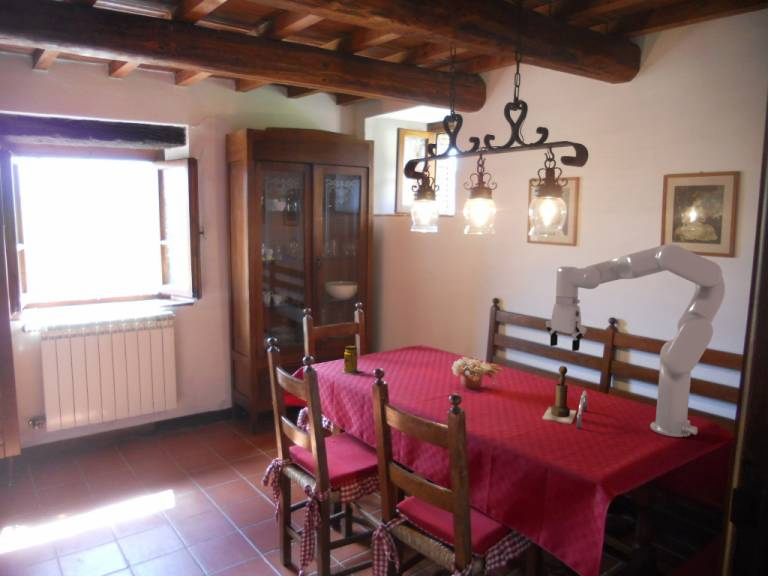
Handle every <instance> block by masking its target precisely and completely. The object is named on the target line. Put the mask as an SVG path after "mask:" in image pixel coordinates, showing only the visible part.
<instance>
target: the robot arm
mask: <svg viewBox="0 0 768 576" xmlns="http://www.w3.org/2000/svg"><path fill="white" fill-rule="evenodd" d="M665 271H666V272H669V273H672V274H673V275H676V276H678V277H681V278H682V279H685V280H687V281H689V282H691V283H693V284H694V285H695V290H694V294H693V296H692V298H691V300H690V302H689V303H688V305H687V306H686V308H685V311H684V312H683V314H682V315H681V317H680V318H679V320H678V322H677V327H676V328H677V332H676V334H675V337H674V338H673V339H670V340H668V341H666V342H665V343H664V344H663V346H662V347H661V349H660V353H659V374H658V387H657V389H658V390H657V401H656V402H657V403H656V413H655V421H652V422H651V423H650V427H649V428H650V429H651V430H652V431H653V432H656V433H658V434H660V435H662V436H663V435H664V436H667V437H674V438H675V437H676V438H685V437H690V436H691V435H690V434H692V435H697V434H698V427H697V426H693V425H691V421H690V420H688V414H689V412H688V411H689V402H690V400H689V399H690V388H691V377H692V376H691V375H692V371H693V369H694V368H696V366H697V365H698V363H699V361H700V360H701V357H702V356H703V354H704V353H705V351H706V349H707V347H708V346H709V344H710V342H711V340H712V338H713V334H714V327H713V324H712V322H713V321H714V320H715V317H716V315H717V313H718V312H719V310H720V308H721V306H722V305H723V304H722V303H723V301H724V298H725V296H726V295H725V294H726V284H725V280H724V277H723V270H722V268H721V266H720V264H718V263H717V262H715V261H712V259H708V258H705V257H703V256H701V255H699V254H696V253H694V252H691V251H690V250H688V249H686V248H683V247H681V246H679V245H678V244H673V243H666V244H662V245H659V246H656V247H652V248H648V249H643V250H641V251H637V252H633V253H630V254H625V255H622V256H620V257H617V258H614V259H609V260H606V261H602V262H599V263H595V264H591V265H587V266H585V267H582V268H581V267H580V268H577V267H576V266H560V267H558V268H557V270H556V286H555V303H554V305H553V309H552V312H551V313H552V314H551V319H550V320H547V321H545V326H546V330H547V331H548V335H549V337H550V338H549V339H550V341H549V342H550V345H549V346H551V347H554V346H558V341H559V340H558V334H557V333H563V334H569V335H571V336H572V338H573V339H572V340H571V341H572V344H571V351H572V352H577V351H580V344H581V340H582V339H583V337H584V336H585V334H586V333H587V330H588V329H587V328H586V327H585V326H584V325H582V315H581V313H582V312H581V308H580V305H578V304H580V302H581V301H580V299H578V297H579V288H581V289H585V290H594V289H596V288H598V287H599V286H600V285H603V284H606V283H609V282H615V281H618V280H633V279H640V278H643V277H646V276H650V275H654V274H657V273H662V272H665ZM683 436H684V437H683Z"/></svg>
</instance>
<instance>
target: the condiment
mask: <svg viewBox="0 0 768 576" xmlns="http://www.w3.org/2000/svg"><path fill="white" fill-rule="evenodd" d="M357 351H358V350H357V346H356V345H346V346H345V351H344V354H343V356H344V357H343V358H344V363H343V364H344V365H343V367H344V368H343V370H342V371H341V370H340V372H341V373H344V374H348V375H349V376H350V375H354V374H359V373H363V372H364V370H360V369H358V352H357ZM359 370H360V372H359ZM357 372H358V373H357Z"/></svg>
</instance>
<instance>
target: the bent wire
mask: <svg viewBox="0 0 768 576" xmlns="http://www.w3.org/2000/svg"><path fill="white" fill-rule="evenodd" d="M587 411H588V396H587V391H586V390H583V392H582V394H581V396H580V401H579V405H578V412H577V413H576V414H577V415H576V429H577V430H581V429H582V417H583V416H582V412H584V413H587Z"/></svg>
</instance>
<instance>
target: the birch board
mask: <svg viewBox="0 0 768 576" xmlns="http://www.w3.org/2000/svg"><path fill="white" fill-rule="evenodd" d="M547 407H548V408H547V409H546V411H545V412H544V415H543V416H542V420H545V421H551V422H558V423H563V424H569V425H572V423H573V422H574V419H575V416H576V414H577V410H574V409H573V410H572V409H570V416H568V417H558V416H554V415H552V414H551V407H552V406H547Z"/></svg>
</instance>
